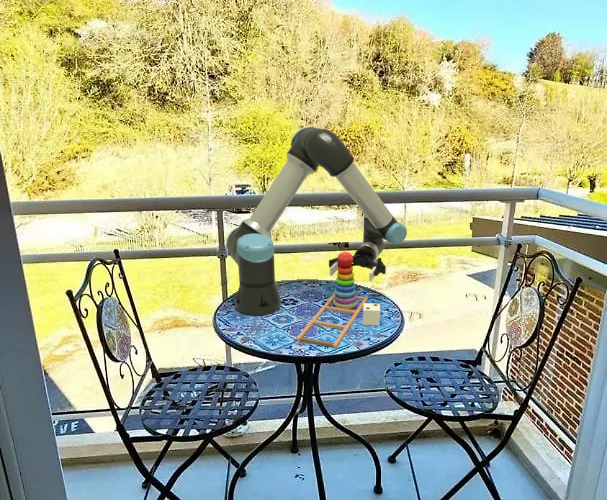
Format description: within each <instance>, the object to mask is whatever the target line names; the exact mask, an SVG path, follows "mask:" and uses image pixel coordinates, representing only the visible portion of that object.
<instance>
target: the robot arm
mask: <svg viewBox="0 0 607 500" xmlns="http://www.w3.org/2000/svg"><path fill="white" fill-rule="evenodd" d="M286 159H287V160H286V162H285V164H284V165H283V167H282V168H281V170H280V171H279V173H278V175H277V176H276V178H275V179H274V181H273V182H272V183H271V185H270V187H269V188H268V190H267V191H266V193H265V194H264V196H263V197H262V199H261V201H260V202H259V203H258V205H257V207H256V208H255V209H254V211H253V213H252V214H251V215H250V217H249V218H246V219H243V220H242V221H241V223H240V224H239V226H238V227H236V228H234V229H232V230H231V231H230V232H229V234H228V236H227V238H226V242H225V243H226V244H225V245H226V250H227V253H228V255H229V256H230V257H231V259H232V260H233V261H234V262H235V264H236V265H237V266H238V268H237V269H238V278H239V281H238V282H239V286H238V290H237V293H236V297H235V310H237V311H238V313H241V314H244V315H248V316H261V315H269V314H272V313H274V312H276V311H277V310H279V309H280V308H281V307H282V298H281V295H280V293H279V290H278V288H277V284H276V279H275V278H276V276H275V275H276V273H275V270H276V269H275V246H274V242H273V239H272V235H271V231H272V230H273V228H274V227H275V225H276V224H277V222H278V221H279V219H280V218H281V217H282V215H283V213H284V212H285V211H286V209H287V207H288V206H289V204H290V203H291V201H292V199H294V196H295V195H296V194H297V192H298V190H299V189H300V187H301V186H302V184H303V183H304V182H305V179H306V178H307V177H308V176H309V175H311V174H315V173H316V171H317V170H318V168H319V167H321V168H322V169H324V170H325V171H326V173H328V175H329V176H330V177H331V178H336V180H337V181H338V182H339V183H340V185H341V186H342V187H343V189H344V190H345V191H346V192H347V194H348V195H349V197H350V198H351V199H352V200H353V201H354V203H355V204H356V206H358V208H359V209H360V210H361V212H362V213H363V236H362V237H363V238H362V244H361V245H360V246H359V247H358V249H357V250H355V252H354V254H353V255H352V256H353V263H352V264H351V266H352V267H360V268H365V269H368V270H369V269H370V272H369V273H368V281H369V282H372V281H373V279H375V277H377V276H379V275H380V274H382V275H385V274H386V273H387V272H386V270H387V266H386V265H385V264H384V262H383V261H382V257H378V256H379V255H380V254H382V252H383V250H384V248H385V241H386V242H388V243H390V244H394V245H398V244H401V243H403V242H404V241H405V239H407V238H406V237H407V235H408V230H407V227H406V226H405V225H404V224H403V223H401V222H398V221H397V220H396V218H395V217H394V215H393V214H392V213H391V211H390V210H389V209H388V207H387V206H386V205H385V203H384V202H383V200H382V199H381V198H380V196H379V195H378V194H377V192H376V191H375V190H374V189H373V187H372V185H371V184H370V183H369V182H368V179H367V178H366V177H365V176H364V175H363V174H362V172H361V171H360V169H359V168H358V167H357V165H356V164H355V158H354V156H353V155H352V153H351V152H350V150H349V149H348V147H347V146H346V145H345V143H344V142H343V141H342V140H341V138H339V136H338V135H337V134H336V133H335V132H333V131H332V130H329V129H326V128H319V127H314V126H307V127H303V128H300V129H299V130H297V131H296V132H295V133H294V134H293V136H292V138H291V140H290V148H289V150H288V151H287V153H286ZM384 240H385V241H384ZM337 258H338V256H337V257H335V258H332V259H331V258H330V259H329V260H328V268H329V276H330V277H332V276H333V275H334V274H336V273H337V272H338V266H340V265H339V263H338V261H337Z"/></svg>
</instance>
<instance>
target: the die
mask: <svg viewBox="0 0 607 500" xmlns="http://www.w3.org/2000/svg"><path fill="white" fill-rule="evenodd" d="M362 309H363V310H362V311H363V312H362V325H363V326H381V325H380V324H381V323H380V322H381V303H372V302H371V303H370V302H369V303H368V302H366V303H363V308H362Z"/></svg>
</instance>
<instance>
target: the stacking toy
mask: <svg viewBox="0 0 607 500" xmlns="http://www.w3.org/2000/svg"><path fill="white" fill-rule="evenodd" d="M337 257H338V258H337ZM337 257H336V258H337V261H338V263H339V265H340V266H338V270H337V272H336V276H337V277H336V278H335V279H336V280H335V285H334V286H335V288H334V293H335V295H334V298H335V299H334V300H333V301H332V303H333V305H334V306H335V307H336V308H342V309H349V310H352V309H354V308H355V307H356V306H357V305H358V300H356V299H357V296H358V295H357V294H356V293H357V292H356V291H357V290H356V284H355V281H356V280H355V278H354V277H355V273H354V272H353V271H354V266H351V264H353V255H352V253H350V252H349V251H342V252H340V253H339V254H338V256H337ZM334 306H333V307H334Z"/></svg>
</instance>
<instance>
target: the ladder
mask: <svg viewBox="0 0 607 500" xmlns="http://www.w3.org/2000/svg"><path fill="white" fill-rule="evenodd" d="M334 295H335V292H333V294H332V295H331V296H330V298H329V299H328V300H327V301H326V302H325V303H324V305H322V307H321V308H320V310H319V311H318V312H317V313H316V314H315V315H314V316H313V317H312V319H311V320H310V321H309V322H308V323H307V325H306V326H305V327H304V328H303V330H302V331H301V332H300V333H299V334H298V335H297V336H296V338H295V341H298V342H302V343H308V344H312V345H318V346H323V347H329V348H333V349H337V348H338V346H339V344H341V342H342V340H343V339H344V337H345V335H346V334H347V333H348V331H349V330H350V328H351V327H352V326H353V324H354V322H355V320H356V319H357V317H358V316H359V315H360V313H361V311H363V310H362V309H363V303H368V300H369V298H368V297H365V296H358V295H357V299H356V300H357V301H361V302H360V304H359V305H358V307H357V309H356V310H354V309H342V308H337V307H336V306H335V307H334V306H330V305H331V304H332V303H333V301H334V299H335V298H334ZM326 310H327V311H333V312H339V313H344V314H352V316H351V318H350V319H349V320H348V322H347V323H346V325H343V324H338V323H337V324H336V323H332V322H325V321H320V320H318V319H319V318H320V317H321V315H322V314H323V313H324V312H325V311H326ZM313 325H317V326H321V327H327V328H333V329H339V330H342V331H340V332H341V333H339V336H338V337H337V338H336V340H335V341H334V342H329V341H324V340H319V339H313V338H309V337H308V338H307V337H305V335H306V334H307V333H308V331H309V330H310V329H311V328H312V326H313Z"/></svg>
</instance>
